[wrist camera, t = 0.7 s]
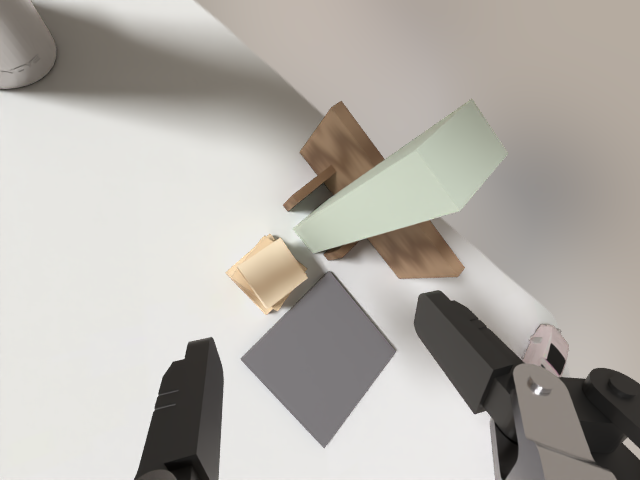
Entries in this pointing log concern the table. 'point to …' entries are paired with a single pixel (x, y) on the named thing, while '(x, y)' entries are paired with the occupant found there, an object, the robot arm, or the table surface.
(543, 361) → the mobile phone
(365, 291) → the table surface
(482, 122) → the sage green pillar
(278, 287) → the offcut stack
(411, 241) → the walnut rack
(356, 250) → the table surface
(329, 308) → the charcoal mat
